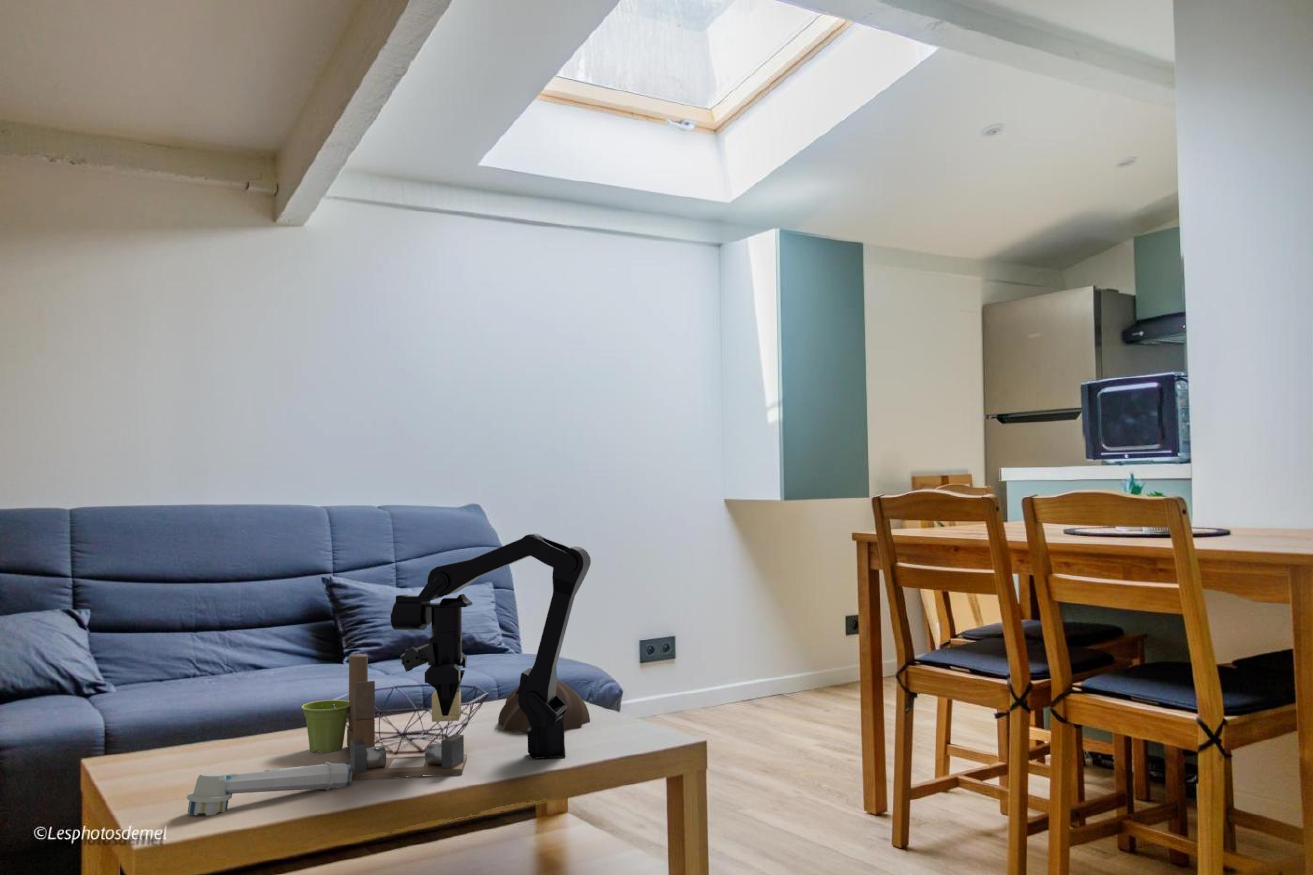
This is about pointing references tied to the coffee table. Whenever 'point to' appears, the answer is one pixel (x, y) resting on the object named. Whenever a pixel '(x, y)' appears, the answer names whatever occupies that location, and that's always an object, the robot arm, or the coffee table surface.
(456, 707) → the cream cube
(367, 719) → the wooden block
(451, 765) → the shaft
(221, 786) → the toothbrush head
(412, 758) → the board
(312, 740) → the plant pot
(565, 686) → the decorative dome
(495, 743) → the coffee table surface
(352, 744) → the shaft
